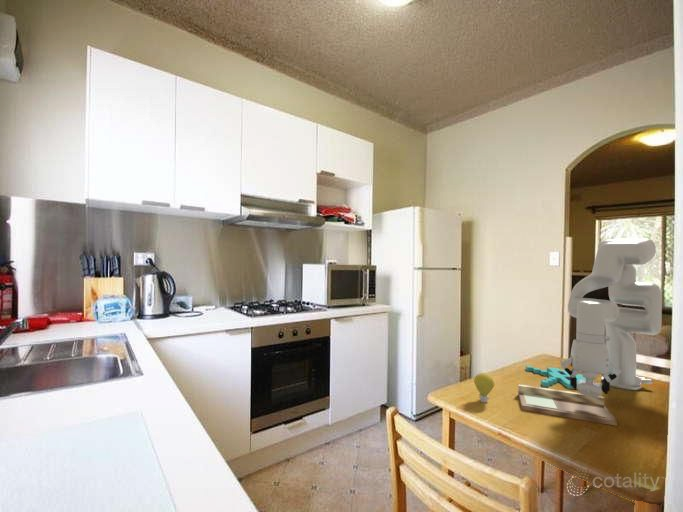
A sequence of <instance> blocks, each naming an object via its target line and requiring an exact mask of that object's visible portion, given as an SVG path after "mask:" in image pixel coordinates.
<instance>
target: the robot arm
mask: <svg viewBox="0 0 683 512" xmlns="http://www.w3.org/2000/svg"><path fill="white" fill-rule="evenodd" d="M656 251H657V247H656V244H655V242H654V240H652V239H650V238H616V239H615V238H613V239H606V240H605V239H604V240H601V241H600V242H599V243H598V245H597V252H596V255H595V259H594V263H593V266H592V270H591V271H592V272H591V273H590V274H589V275H587V276H585V277H584V278H582V279H581V280H579V282H577V283H575V285H574V286H573V287H572V290H571V292H570V295H569V299H568V303H567V312H568V314H569V315H570V316H571V317H573V318H576V331H575V332H576V335H575V336H576V338H575V339H573V341H572V344H571V349H570V357H568V358H566V359H564V360H561V361H560V363H559V364H560V366H561V367H562V368H563V370H565V371H566V372H567V373H568V374H569V375H570V385H571V386H572V387H573V389H572V390H575V391H576V390H577V378H576V375H577V374H580V372H581V373H582V372H589V373H598V375H601V377H600V381H601V385H602V393H603V394H605V395H608V393H609V392H610V388H611V387H613V388H618V389H622V390H628V391H639V390H641V389H642V385H643V384H646V385H652V384H653V381H652V379H650V378H646V377H641V376H638V375H637V343H636V340H635V339H634V338H633V336H632V335H631V334H630V333H635V334H641V335H648V336H657V335H659V334H660V333H661V330H662V326H663V325H662V324H663V323H662V320H663V319H662V317H663V316H662V313H663V311H662V309H663V305H662V303H663V302H662V301H663V297H662V295H663V294H662V291H661V288H660V286H659V285H657V284H656V283H653V282H646V281H645V282H644V281H643V282H642V281H637V280H636V279H637V277H636V276H637V275H636V273H637V270H636V267H635V266H637V265H638V266H642V265H646V264H647V263H649V262H650V261H652V260H653V259H654V258H655V254H656ZM634 265H635V266H634ZM607 287H608V297H609V300H607V299H597V298H589V297H588V298H587V297H584V296H586V295H587V294H589V293H590V292H593V291H597V290H600V289H604V288H607ZM618 304H619V305H625V306H636V307H637V306H638V307H643V308H644V309H639V308H631V307H622V306H621V307H620V306H618ZM568 365H570V367H572V368H571V369H569V368H568ZM577 391H578V390H577Z"/></svg>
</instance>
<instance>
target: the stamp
mask: <svg viewBox="0 0 683 512" xmlns="http://www.w3.org/2000/svg"><path fill="white" fill-rule="evenodd" d="M581 374H582V375H583V377H585V378H586V380H582V379H579V381H578V384H577V391H578V393H580V394H582V395H585V396H590V397H594V398H597V397H598V396H601V395H602V393H603V391H602V383H600V382H595V381H594V380H596V379H597V378H599V374H598V373H589V372H581Z"/></svg>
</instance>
